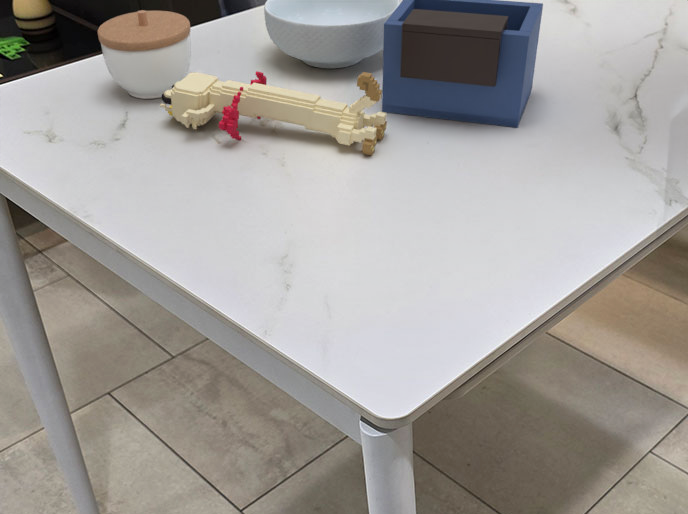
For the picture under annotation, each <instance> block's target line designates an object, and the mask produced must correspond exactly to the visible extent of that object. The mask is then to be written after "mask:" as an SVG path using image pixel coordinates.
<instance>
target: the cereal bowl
mask: <svg viewBox="0 0 688 514" xmlns="http://www.w3.org/2000/svg"><path fill="white" fill-rule="evenodd" d="M400 3H401V0H266V1H265V3H264V6H263V15H264V21H265V22H264V23H265V27H266V31H267V33H268V36H269V38H270V40H271V41H272V43H273V44H274V45H275V47H277V49H279V50H280V51H281V52H282V53H284V54H285V55H288V56H290V57H292V58H294V59H297V60H301V61H302V62H303V63H305V64H306V65H308V66H311V67H313V68H319V69H342V68H348V67H351V66H353V65H357V64H359V63H360V62H362V60H363V59H366V58H369V57H371V56H374V55H376V54H377V53H379V52H381V51H383V44H384V23H385V22H386V21H387V19H388V18H389V17H390V16H391V14H392V13H393V12H394V11H395V10H396V8H397V7H398V6H399V5H400Z"/></svg>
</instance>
